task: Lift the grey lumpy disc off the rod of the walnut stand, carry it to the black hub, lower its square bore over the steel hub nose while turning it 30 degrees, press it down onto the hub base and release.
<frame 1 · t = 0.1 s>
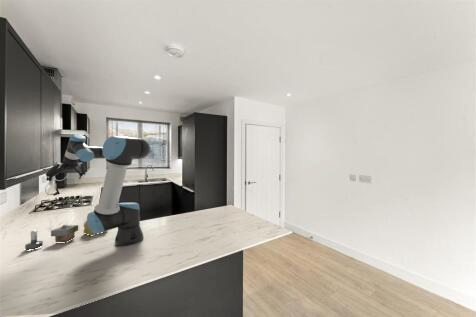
hand: (63, 183, 129), 36 cm above the table, tool tilted 35°, fingers open, 13 cm apart
stand: (65, 241, 121), on the table
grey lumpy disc: (65, 233, 121), point 5 cm above the table, touching stand
cheese: (96, 233, 134), on the table
hub: (34, 248, 112), on the table
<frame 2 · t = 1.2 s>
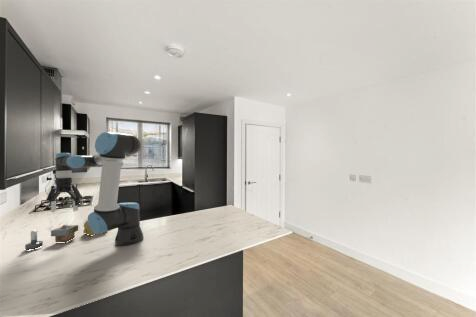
hand: (64, 211, 122), 19 cm above the table, tool pointing down, fingers open, 13 cm apart
nothing on the table moved.
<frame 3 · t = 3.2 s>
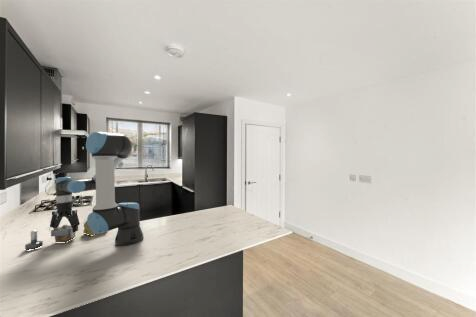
hand: (65, 237, 121), 2 cm above the table, tool pointing down, fingers closed on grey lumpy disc, 9 cm apart
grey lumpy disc: (65, 233, 121), point 5 cm above the table, touching gripper, stand
everything else where it was.
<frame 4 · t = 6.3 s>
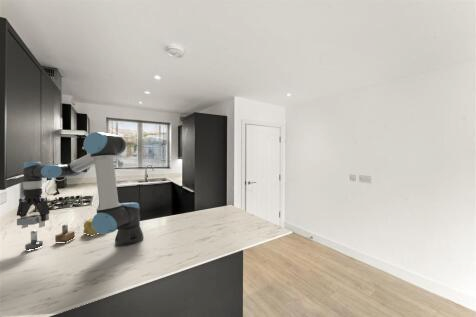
hand: (33, 227, 112), 12 cm above the table, tool pointing down, fingers closed on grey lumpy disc, 9 cm apart
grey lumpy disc: (33, 222, 112), point 15 cm above the table, touching gripper
everything else where it was.
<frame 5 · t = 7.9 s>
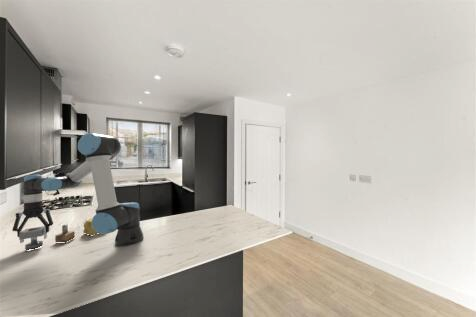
hand: (34, 240, 112), 5 cm above the table, tool pointing down, fingers closed on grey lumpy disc, 9 cm apart
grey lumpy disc: (33, 235, 112), point 8 cm above the table, touching gripper
everything else where it was.
when the fingers open (2 cm above the table, at t = 9.3 s): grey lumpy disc drops 2 cm, resting on hub.
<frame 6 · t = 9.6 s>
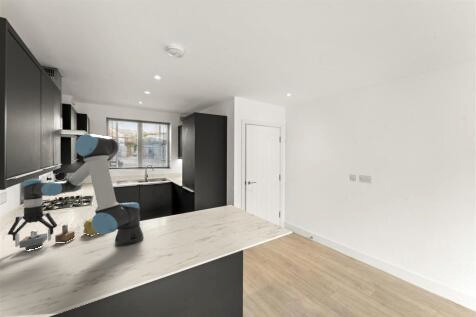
hand: (34, 243, 112), 3 cm above the table, tool pointing down, fingers open, 13 cm apart
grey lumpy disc: (34, 243, 112), point 3 cm above the table, touching hub
everything else where it was.
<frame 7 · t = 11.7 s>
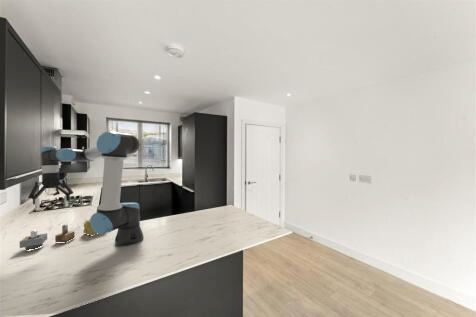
hand: (52, 208, 116), 22 cm above the table, tool pointing down, fingers open, 13 cm apart
nothing on the table moved.
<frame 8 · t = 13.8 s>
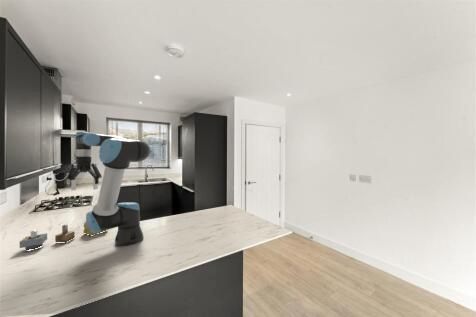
hand: (84, 189, 123), 32 cm above the table, tool pointing down, fingers open, 13 cm apart
nothing on the table moved.
at the end: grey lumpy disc 0.0 cm off-centre on the hub, point 3.0 cm above the hub's base; the gripper is holding nothing; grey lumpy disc tilted 0° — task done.
